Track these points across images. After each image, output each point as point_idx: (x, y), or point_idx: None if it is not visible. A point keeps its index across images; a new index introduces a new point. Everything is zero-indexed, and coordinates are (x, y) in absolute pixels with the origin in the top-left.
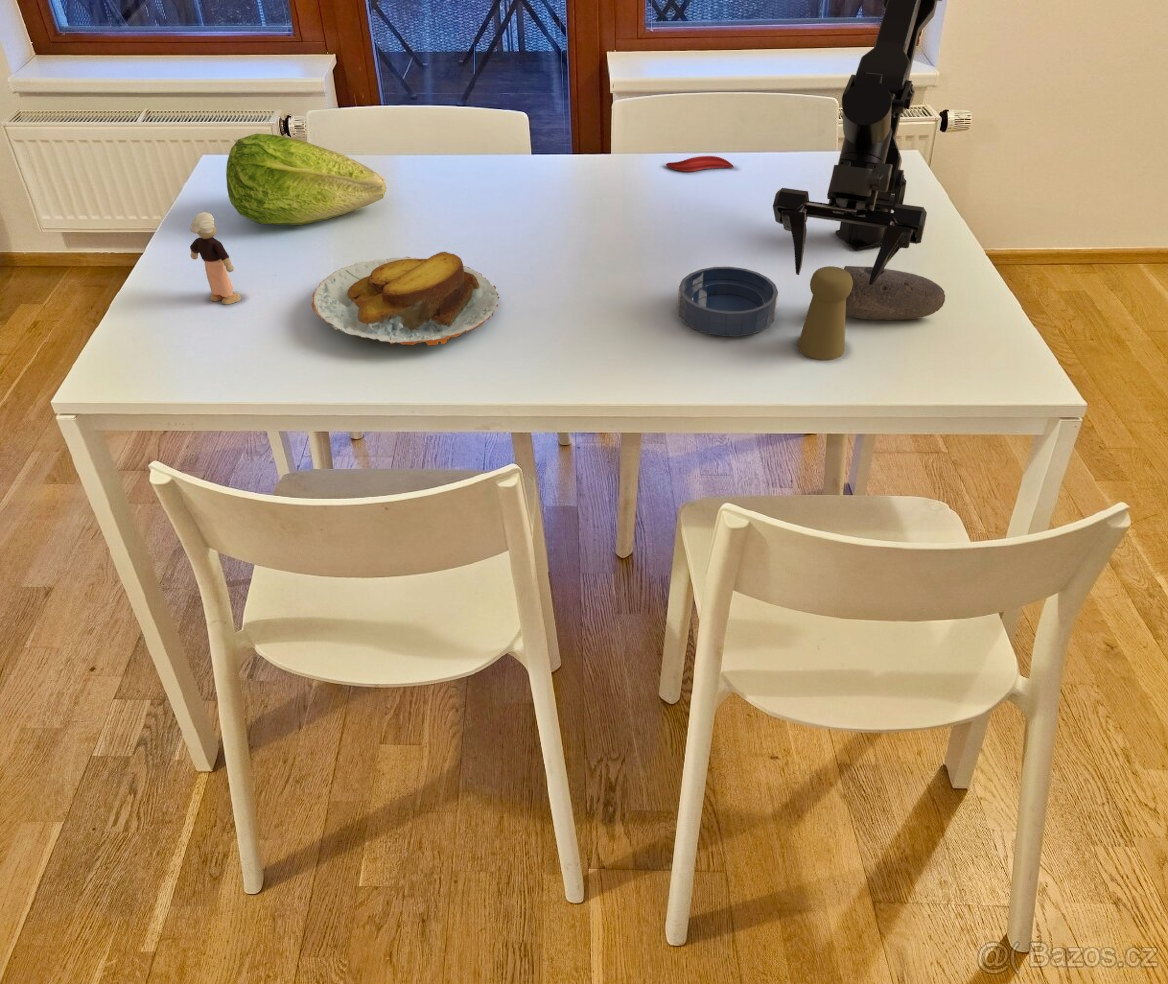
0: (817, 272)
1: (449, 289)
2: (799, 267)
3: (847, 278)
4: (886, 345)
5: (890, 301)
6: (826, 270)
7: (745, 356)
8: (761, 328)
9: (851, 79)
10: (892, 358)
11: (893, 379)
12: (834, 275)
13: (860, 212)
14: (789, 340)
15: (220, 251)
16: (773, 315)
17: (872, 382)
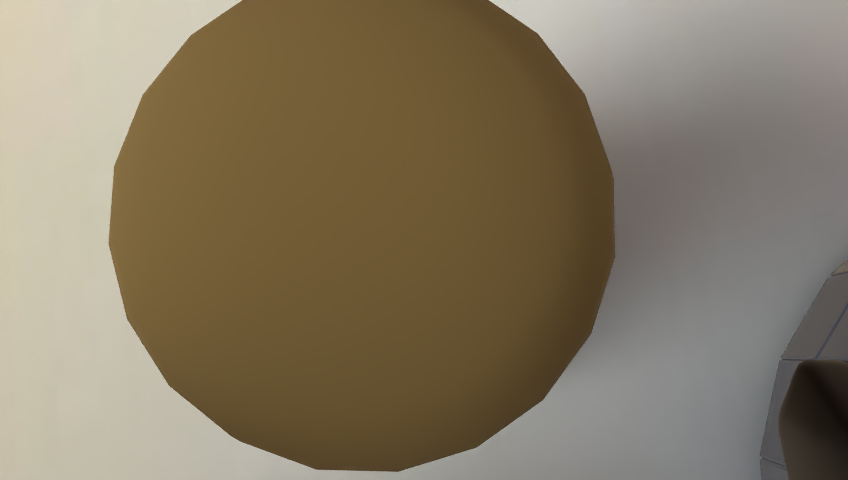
0: (558, 146)
1: None
2: (832, 389)
3: (145, 129)
4: (66, 440)
5: None
6: (440, 178)
7: (802, 60)
8: (806, 323)
9: None
10: (28, 307)
11: (15, 102)
12: (310, 82)
13: None
14: (608, 313)
15: None
16: (780, 454)
17: (115, 39)
